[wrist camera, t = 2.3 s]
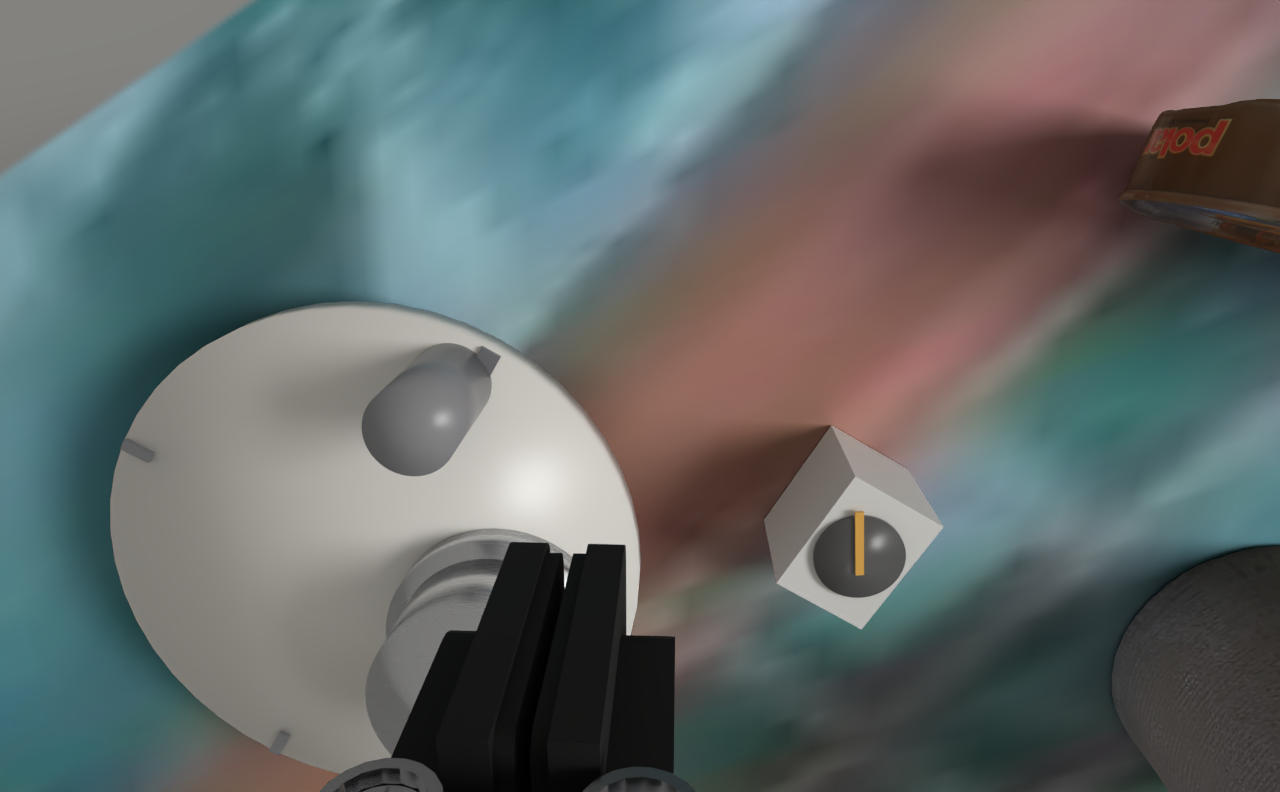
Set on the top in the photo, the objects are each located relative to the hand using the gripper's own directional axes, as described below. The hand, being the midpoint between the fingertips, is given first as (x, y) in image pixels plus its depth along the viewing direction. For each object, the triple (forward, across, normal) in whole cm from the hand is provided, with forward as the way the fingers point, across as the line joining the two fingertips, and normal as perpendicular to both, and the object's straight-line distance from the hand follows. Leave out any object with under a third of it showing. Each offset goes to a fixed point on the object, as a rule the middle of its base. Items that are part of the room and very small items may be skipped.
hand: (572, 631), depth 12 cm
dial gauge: (+15, -7, +5) cm, 17 cm away
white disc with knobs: (+15, +8, +7) cm, 19 cm away
